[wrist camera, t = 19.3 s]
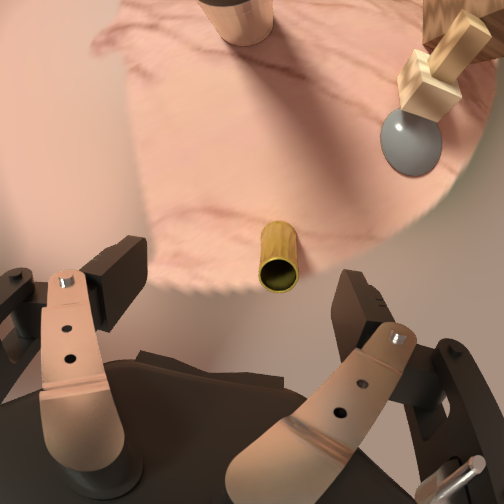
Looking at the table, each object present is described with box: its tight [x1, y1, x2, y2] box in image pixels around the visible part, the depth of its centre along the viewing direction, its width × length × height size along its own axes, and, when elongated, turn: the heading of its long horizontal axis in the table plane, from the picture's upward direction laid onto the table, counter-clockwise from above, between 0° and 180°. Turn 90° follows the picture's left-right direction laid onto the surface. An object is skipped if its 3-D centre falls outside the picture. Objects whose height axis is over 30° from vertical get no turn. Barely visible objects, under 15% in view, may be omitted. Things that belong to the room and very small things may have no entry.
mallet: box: [397, 9, 492, 123], centre depth 28 cm, size 20×7×7 cm
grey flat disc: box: [380, 108, 442, 176], centre depth 42 cm, size 12×12×1 cm
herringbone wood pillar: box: [423, 0, 504, 64], centre depth 18 cm, size 12×10×32 cm
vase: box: [259, 221, 299, 293], centre depth 45 cm, size 6×6×14 cm
